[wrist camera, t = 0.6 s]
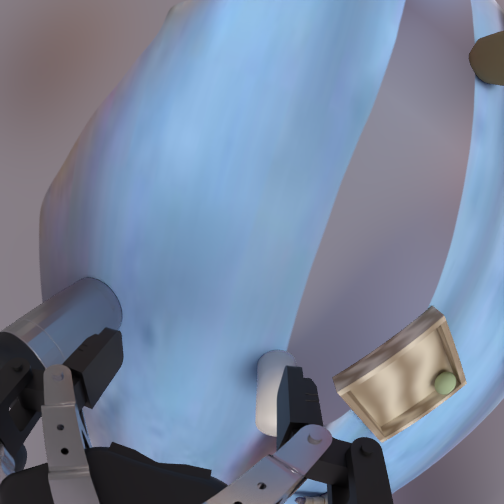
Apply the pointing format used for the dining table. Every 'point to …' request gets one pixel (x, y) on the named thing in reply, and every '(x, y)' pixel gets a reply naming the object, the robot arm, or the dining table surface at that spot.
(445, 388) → the green ball
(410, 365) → the tray
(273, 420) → the white dome-topped cylinder
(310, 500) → the decorative bottle
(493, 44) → the squeeze bottle
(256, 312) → the dining table surface
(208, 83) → the dining table surface
